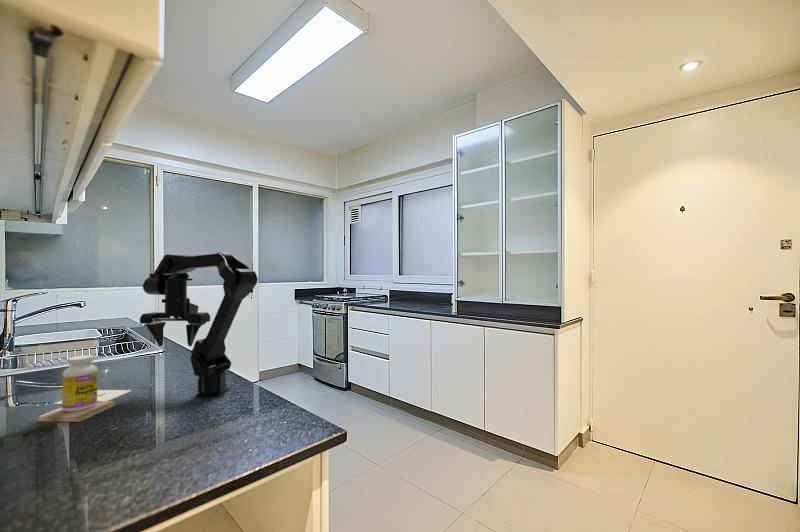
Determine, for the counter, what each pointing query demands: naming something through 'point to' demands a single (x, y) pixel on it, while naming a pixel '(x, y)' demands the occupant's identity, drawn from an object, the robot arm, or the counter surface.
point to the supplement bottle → (79, 384)
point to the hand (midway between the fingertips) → (175, 345)
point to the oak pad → (76, 413)
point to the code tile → (106, 395)
